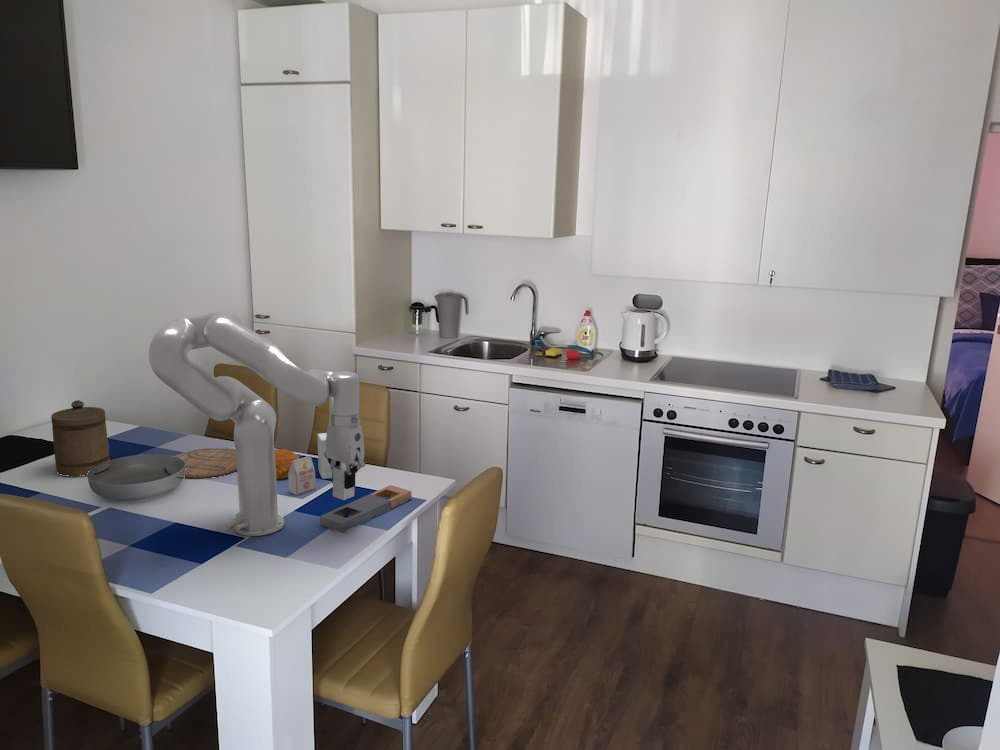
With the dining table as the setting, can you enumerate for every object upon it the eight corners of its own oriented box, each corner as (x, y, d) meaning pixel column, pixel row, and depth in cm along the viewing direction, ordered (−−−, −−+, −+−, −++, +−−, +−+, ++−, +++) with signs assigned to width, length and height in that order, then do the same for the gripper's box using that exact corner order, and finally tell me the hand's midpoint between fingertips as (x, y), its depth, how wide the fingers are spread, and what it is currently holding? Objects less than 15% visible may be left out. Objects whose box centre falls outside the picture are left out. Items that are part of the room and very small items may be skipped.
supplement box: (346, 476, 239) (345, 437, 236) (321, 479, 236) (320, 440, 233) (341, 468, 246) (340, 431, 243) (318, 471, 243) (316, 433, 240)
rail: (342, 532, 200) (341, 523, 199) (320, 525, 204) (319, 516, 204) (411, 499, 223) (411, 491, 222) (390, 493, 227) (390, 485, 226)
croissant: (247, 478, 242) (242, 455, 239) (290, 461, 252) (286, 438, 249) (270, 490, 232) (265, 466, 229) (314, 471, 242) (310, 448, 239)
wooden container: (104, 458, 250) (98, 392, 245) (115, 471, 239) (108, 403, 234) (52, 466, 241) (45, 399, 236) (61, 481, 230) (53, 410, 225)
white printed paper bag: (288, 492, 226) (287, 459, 224) (307, 486, 231) (306, 454, 229) (296, 495, 224) (295, 462, 221) (315, 489, 229) (314, 457, 226)
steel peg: (343, 500, 202) (344, 471, 201) (332, 496, 204) (333, 467, 203) (354, 496, 206) (355, 467, 204) (343, 492, 208) (344, 464, 206)
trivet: (225, 483, 232) (224, 477, 232) (148, 476, 236) (148, 470, 236) (262, 456, 256) (262, 450, 256) (192, 450, 260) (192, 445, 260)
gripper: (378, 422, 199) (376, 489, 203) (331, 410, 208) (331, 474, 212) (357, 428, 193) (357, 497, 197) (310, 415, 202) (310, 481, 206)
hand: (343, 484), depth 204 cm, fingers closed on steel peg, 4 cm apart
